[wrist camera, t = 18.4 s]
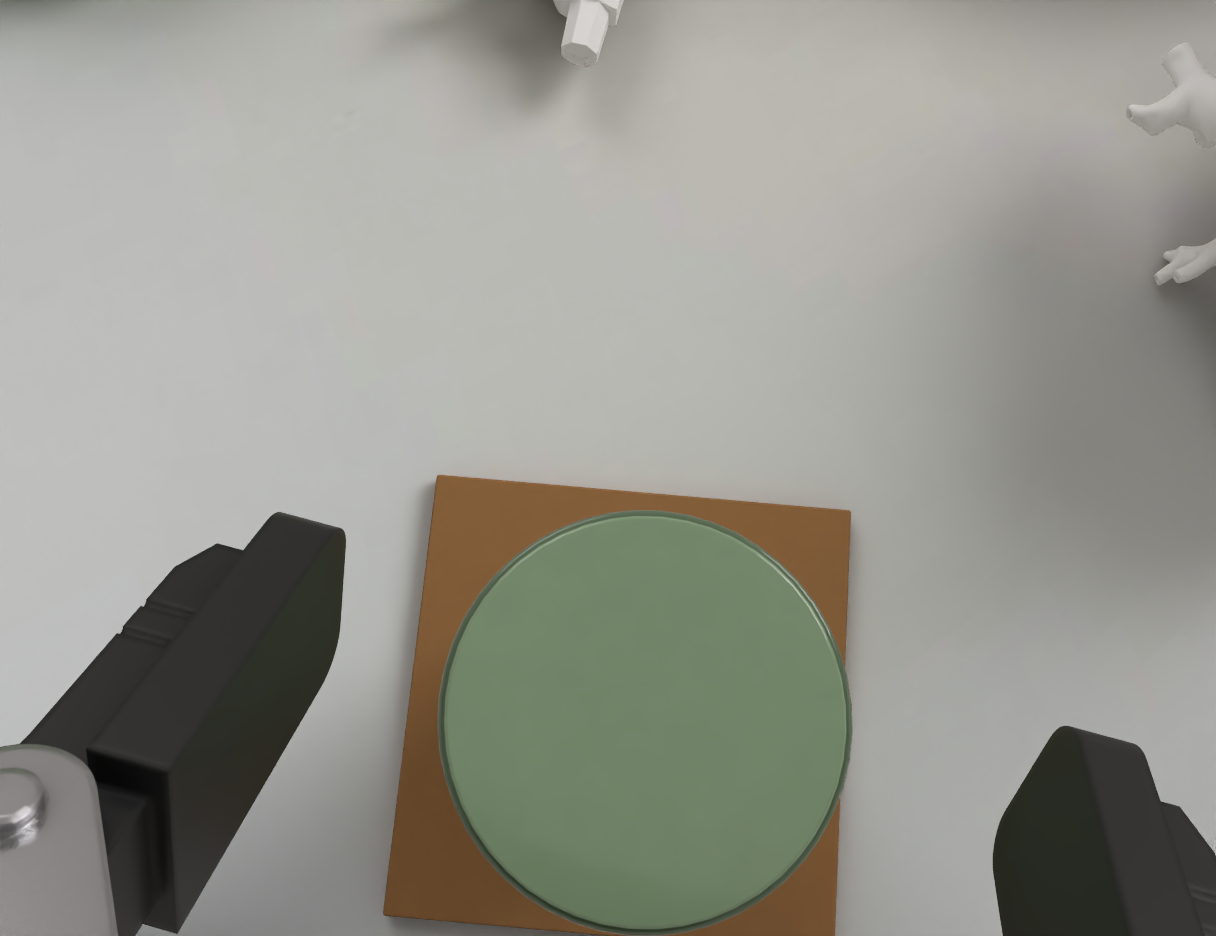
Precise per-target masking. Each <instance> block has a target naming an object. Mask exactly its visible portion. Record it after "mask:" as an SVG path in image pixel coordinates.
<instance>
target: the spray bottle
mask: <svg viewBox="0 0 1216 936" xmlns="http://www.w3.org/2000/svg"><path fill="white" fill-rule="evenodd" d="M553 1H554V4H555V6H556V8H557V10H558V12H559V13H560V14H562V15H563V16H565V17H566V18H567V21H566V26H565V30H564V35H563V40H562V45H561V56H563V57H564V58H565V59H566V60H568V61H569V62H570V63H572V64H575V65H580V66H584V67H587V66H590V65H593V64H595V63H597V60H598V57H599V54H600V51H601V47H602V44H603V41H604V38H605V35H606V32H607V29H608V27H614V26H616V24H617V21H618V17H619V14H620V11H621V8H622V4H623V1H624V0H553Z"/></svg>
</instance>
